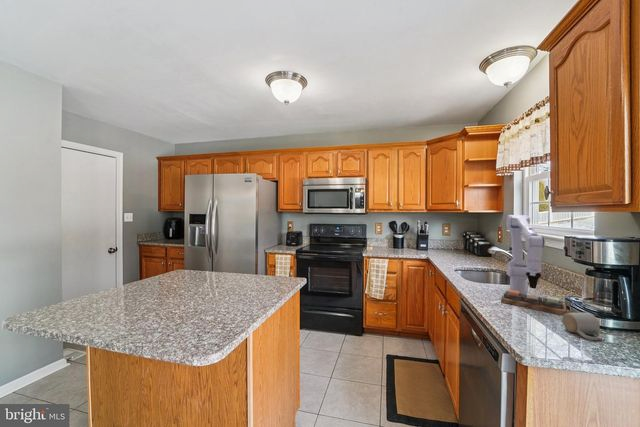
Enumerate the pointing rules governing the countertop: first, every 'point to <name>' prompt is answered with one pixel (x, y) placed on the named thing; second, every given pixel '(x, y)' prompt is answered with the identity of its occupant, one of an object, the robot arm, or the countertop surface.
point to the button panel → (534, 303)
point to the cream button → (532, 296)
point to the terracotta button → (514, 292)
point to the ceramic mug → (582, 324)
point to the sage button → (552, 299)
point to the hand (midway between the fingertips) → (532, 287)
